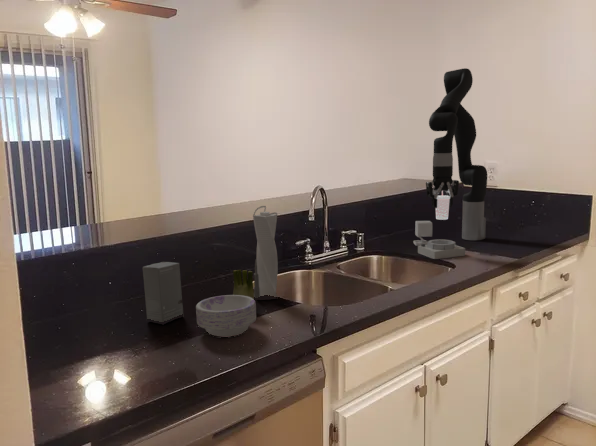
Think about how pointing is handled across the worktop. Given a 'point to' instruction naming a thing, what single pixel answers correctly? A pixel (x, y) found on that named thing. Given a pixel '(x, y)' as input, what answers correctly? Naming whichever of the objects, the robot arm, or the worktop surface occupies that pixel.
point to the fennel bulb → (243, 283)
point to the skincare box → (162, 291)
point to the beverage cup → (442, 207)
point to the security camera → (422, 231)
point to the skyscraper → (265, 254)
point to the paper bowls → (226, 314)
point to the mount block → (441, 249)
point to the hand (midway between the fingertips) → (442, 207)
